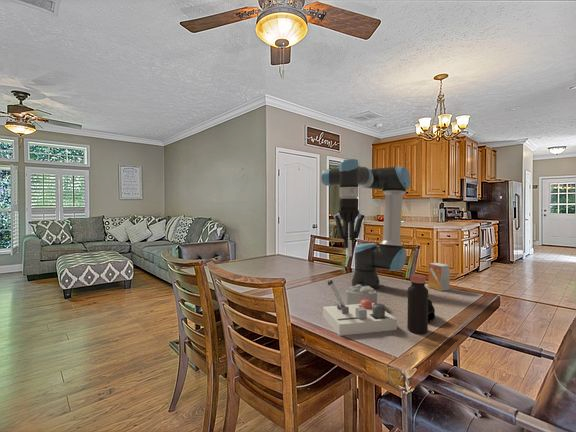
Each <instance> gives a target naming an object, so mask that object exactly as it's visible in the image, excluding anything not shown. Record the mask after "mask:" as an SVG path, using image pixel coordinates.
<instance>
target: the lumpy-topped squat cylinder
mask: <svg viewBox="0 0 576 432" xmlns="http://www.w3.org/2000/svg"><path fill="white" fill-rule="evenodd" d="M363 299H368V300H371V301H372V303H374V304H378V291H377V290H375V289H373V288H371V287H370V286H362V285H356V286H352V285H351V286H350V287H349V288H347V289H346V290H345V305H352V304H361V300H363Z"/></svg>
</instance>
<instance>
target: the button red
mask: <svg viewBox="0 0 576 432" xmlns="http://www.w3.org/2000/svg"><path fill="white" fill-rule="evenodd" d="M361 307H364V308H365V309H372V301H371V300H368V299H363V300H361Z"/></svg>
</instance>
